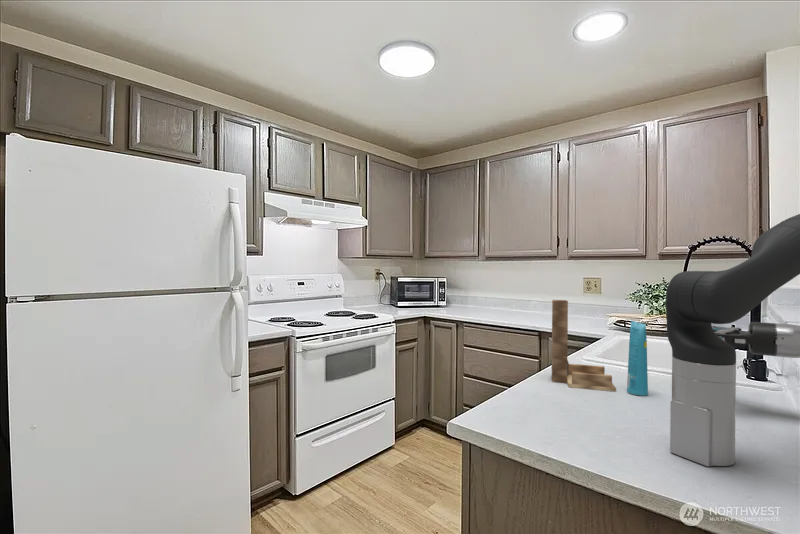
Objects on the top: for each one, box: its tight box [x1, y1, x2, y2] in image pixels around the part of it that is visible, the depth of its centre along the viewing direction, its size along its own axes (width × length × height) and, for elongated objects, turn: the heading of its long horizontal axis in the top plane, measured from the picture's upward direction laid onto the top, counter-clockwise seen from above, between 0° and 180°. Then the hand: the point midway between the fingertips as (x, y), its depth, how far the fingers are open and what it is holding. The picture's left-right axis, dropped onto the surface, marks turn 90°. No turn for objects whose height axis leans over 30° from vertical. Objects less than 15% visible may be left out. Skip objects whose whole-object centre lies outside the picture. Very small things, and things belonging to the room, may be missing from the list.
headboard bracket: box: [551, 299, 617, 392], centre depth 117 cm, size 16×12×24 cm
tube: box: [626, 320, 649, 396], centre depth 108 cm, size 7×5×19 cm, turn 2°
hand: (689, 332), depth 101 cm, fingers open, 8 cm apart
